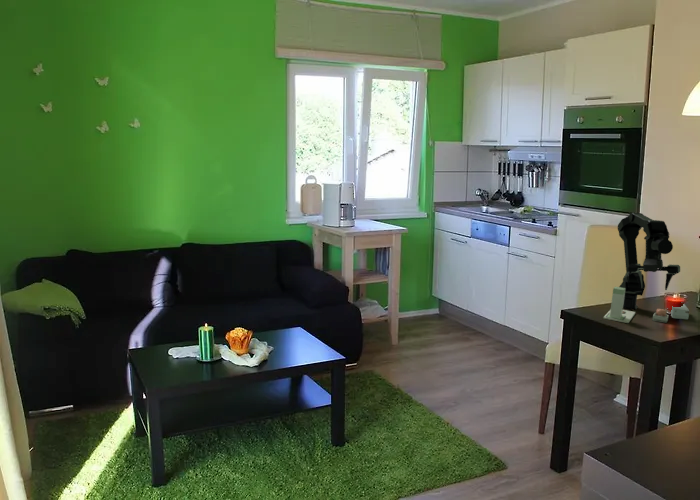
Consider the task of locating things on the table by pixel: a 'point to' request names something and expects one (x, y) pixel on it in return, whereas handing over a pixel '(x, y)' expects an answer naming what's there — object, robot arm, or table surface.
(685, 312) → the skincare box
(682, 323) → the table surface
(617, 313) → the pale green tall box
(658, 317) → the button housing
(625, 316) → the picture board
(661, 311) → the button
